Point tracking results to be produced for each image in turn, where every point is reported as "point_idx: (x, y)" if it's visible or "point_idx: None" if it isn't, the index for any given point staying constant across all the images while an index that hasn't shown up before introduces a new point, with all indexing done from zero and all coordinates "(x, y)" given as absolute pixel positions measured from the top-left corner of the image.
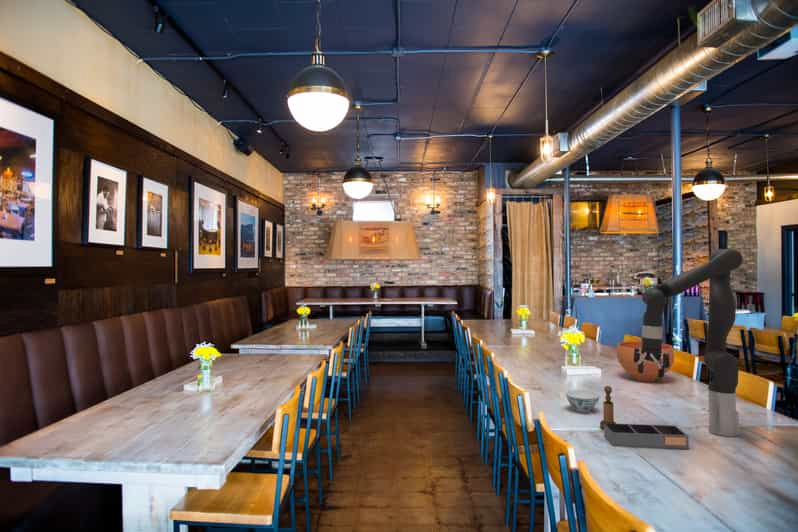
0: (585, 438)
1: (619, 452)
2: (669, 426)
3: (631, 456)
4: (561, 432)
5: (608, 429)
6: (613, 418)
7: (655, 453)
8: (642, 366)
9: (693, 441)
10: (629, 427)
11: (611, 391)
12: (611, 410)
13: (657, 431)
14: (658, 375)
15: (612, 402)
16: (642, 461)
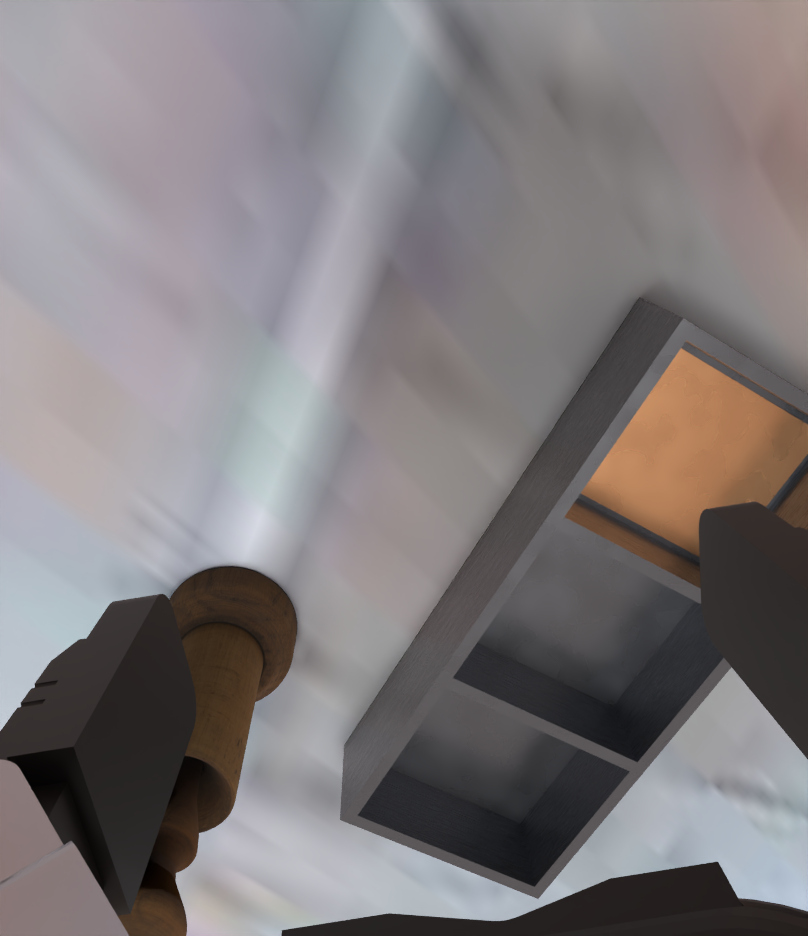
0: (343, 874)
1: (616, 847)
2: (655, 383)
3: (694, 830)
4: (191, 932)
5: (454, 858)
6: (246, 658)
7: None
8: (115, 761)
9: (766, 217)
10: (490, 702)
11: (179, 903)
12: (245, 743)
13: (687, 596)
14: (737, 662)
15: (191, 756)
16: (774, 826)
